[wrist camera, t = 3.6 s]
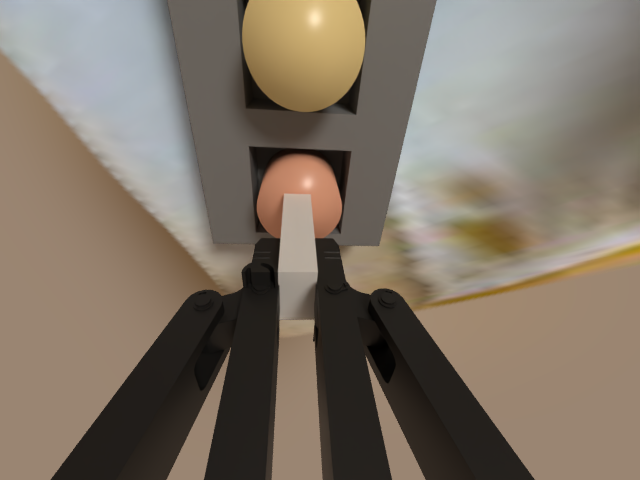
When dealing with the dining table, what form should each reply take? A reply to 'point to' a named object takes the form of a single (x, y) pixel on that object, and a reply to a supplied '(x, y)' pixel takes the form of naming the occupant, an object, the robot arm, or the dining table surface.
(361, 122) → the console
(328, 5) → the ochre button
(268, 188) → the pink button
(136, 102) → the dining table surface
